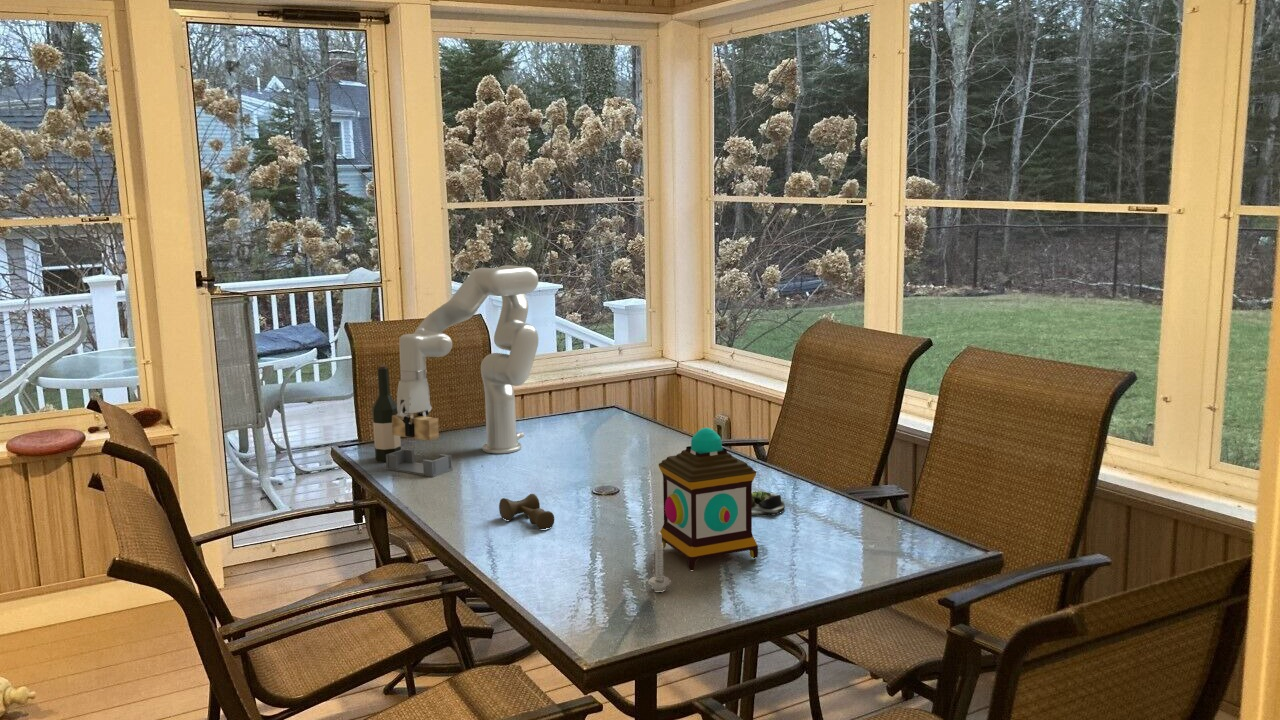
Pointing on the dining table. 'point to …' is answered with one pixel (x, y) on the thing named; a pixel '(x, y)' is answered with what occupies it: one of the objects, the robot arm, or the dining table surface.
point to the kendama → (527, 511)
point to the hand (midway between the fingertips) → (415, 434)
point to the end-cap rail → (406, 463)
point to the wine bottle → (384, 418)
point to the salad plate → (766, 503)
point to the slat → (417, 427)
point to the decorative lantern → (707, 500)
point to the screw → (659, 567)
